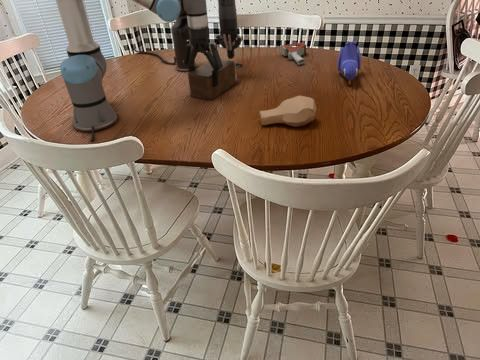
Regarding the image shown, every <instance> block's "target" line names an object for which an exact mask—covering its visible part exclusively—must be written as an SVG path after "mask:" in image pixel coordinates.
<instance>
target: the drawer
mask: <svg viewBox="0 0 480 360" xmlns="http://www.w3.org/2000/svg"><path fill="white" fill-rule="evenodd" d="M234 62H235V78H236V81H237V80H238V75H237V69H239V68H243V66H244V65H243V63H241V62H236V61H234Z"/></svg>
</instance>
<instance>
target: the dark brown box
mask: <svg viewBox="0 0 480 360" xmlns="http://www.w3.org/2000/svg"><path fill="white" fill-rule="evenodd" d="M221 62H222V65H223V68H221V69H220V70H219V78H218V84H219V85H217V86H216V87H213V77H212V71H213V68H212V66H211V64H210V63H209V61H208V62H206V63H204V64H202V65H200V66H199V67H196V68H195V70H193V71H191V72H189V71H188V73H187V78H188V79H187V80H188V87H189V92H190V97H192V98H198V99H202V100H209V101H213V100H214V99H215V98H216V97H218V96H220V95H221V94H222V93H224V92H225V91H227V90H229V89H230V88H231V87H233V86H234V85H236V83H237V80H236V78H235V62H236V61H235V60H229V59H221Z"/></svg>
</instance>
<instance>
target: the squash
mask: <svg viewBox="0 0 480 360" xmlns="http://www.w3.org/2000/svg"><path fill="white" fill-rule="evenodd" d="M317 109H318V107H317V104H316V101H315V99H314V98H312V97H310V96H305V95H300V94H299V95H296V96H293V97H291V98H287V99H284V100H283V101H282V102H281V103H280V104H279V105H278V106H277V107H275V108H271V109H266V110H260V111H259V112H258V115H259V116H258V117H259V118H260V123H261V125H262V126H268V125H272V124H285V125H288V126H291V127H294V128H295V127H304V126H306V125H308V124H309V123H311V122H313V121H314V120H315V117H316V115H317Z"/></svg>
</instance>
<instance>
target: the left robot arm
mask: <svg viewBox="0 0 480 360" xmlns="http://www.w3.org/2000/svg"><path fill="white" fill-rule="evenodd" d="M132 1H133V2H135V3H136V4H138V5H140V6H142V7H143V8H145V9H147V10H148V11H150V12H152V13H153V14H155V15H157V16H158V18H159V19H160V20H162V21H163V22H166V23H172V22H175V21H176V19H177V18H178V17H179V15H180V11H186V12H187V20H188V27H190V28H189V35H190V38H191V40H189V39H188V40H186V41H184V44H185V53H184V62H183V63H184V65H187V66H188V69H189V71H188V73H189V72H191V71H193V70H195V69H196V68H195V66H194V64H193V63H194V61H195V62H196V58H197V55H198V53H201V54H203V56H204V57H205V58H206V59H207V61H208V62H209V63H210V64H211V66H212V68H213V71H212V77H213V87H216V86H217V85H219V84H218V78H219V70H220V69H221V68H223V65H222V62H221V60H222V58H221V56H220V53H219V50H218V43H217V42H216V41H214V42H211V41H210V28H209V20H208V7H207V0H132ZM55 4H56V6H57V9H58V12H59V15H60V20H61V22H62V26H63V28H64V32H65V35H66V39H67V42H68V45H67V47H66V48H65V51H66V53H67V58H65V59H63V61H62V60H61V63H60V65H59V69H60V75H61V77H62V79H63V82H64V84H65V87H66V90H67V93H68V96H69V99H70V101H71V104H72V108H73V114H72V117H73V118H72V119H73V125H74V128H75V129H76V131H78V132H84V133H91V137H90V138H91V139H90V142H93V141H94V139H95V138H94V136H95V134H94V133H95V132H99V131H102V130H105V129H107V128H110V127H111V126H113V125H115V124H116V122H117V121H118V116H117V113H116V111H115V110H114V108H113V107H112V105H111V103H110V102H109V101H108V99H107V96H106V92H105V89H104V87H103V86H104V85H103V78H104V76H105V74H106V72H107V61H106V58H105V56H104V55H103V53H102V50H101V45H100V44H99V43H98V42H97V41H95V39H94V36H93V32H92V28H91V25H90V24H91V23H90V21H89V17H88V14H87V10H86V6H85V3H84V0H55ZM191 45H192V46H193V49H192V51H191ZM190 52H192V53H191V56H190ZM192 65H193V66H192Z"/></svg>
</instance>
